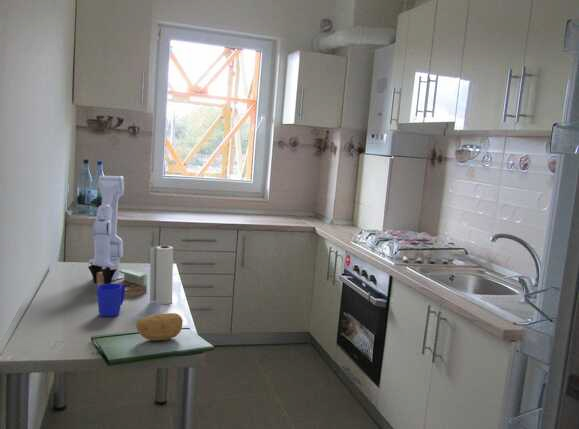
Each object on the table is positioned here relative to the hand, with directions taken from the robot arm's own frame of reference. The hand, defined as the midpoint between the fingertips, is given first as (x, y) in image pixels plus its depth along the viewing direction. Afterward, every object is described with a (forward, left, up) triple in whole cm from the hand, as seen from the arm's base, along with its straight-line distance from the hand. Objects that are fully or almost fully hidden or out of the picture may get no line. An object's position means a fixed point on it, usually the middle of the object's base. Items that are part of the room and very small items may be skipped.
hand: (102, 284), depth 216 cm
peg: (0, 0, -2) cm, 2 cm away
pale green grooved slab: (+9, +8, -2) cm, 12 cm away
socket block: (+9, +3, -2) cm, 9 cm away
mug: (+26, -14, -3) cm, 29 cm away
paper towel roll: (+29, +6, -3) cm, 29 cm away
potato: (+57, -20, -3) cm, 60 cm away
